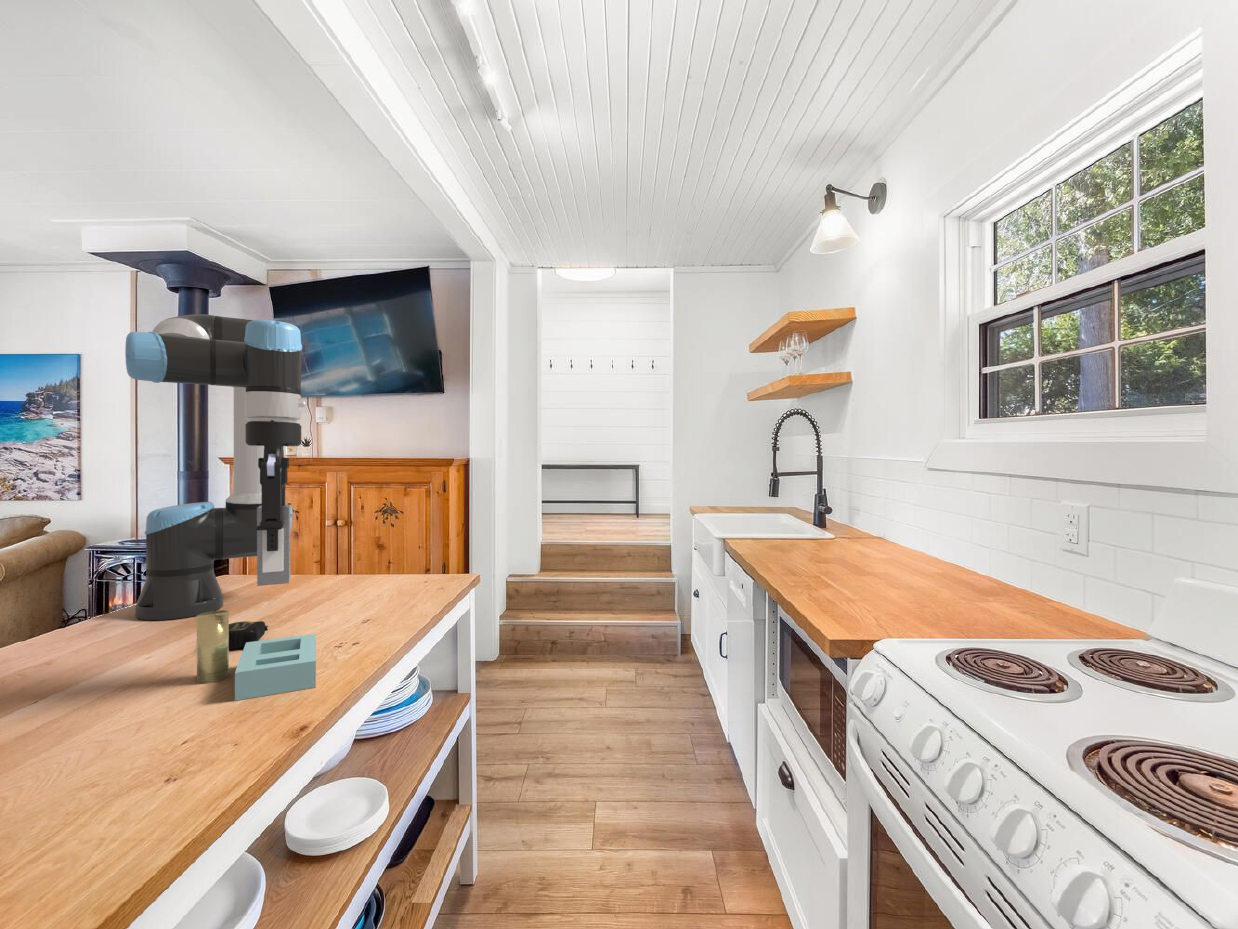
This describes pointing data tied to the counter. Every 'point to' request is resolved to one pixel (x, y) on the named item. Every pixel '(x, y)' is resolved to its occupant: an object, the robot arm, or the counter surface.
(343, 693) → the counter surface
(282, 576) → the square bit
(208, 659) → the round bit
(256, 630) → the tape measure
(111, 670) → the counter surface
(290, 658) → the socket block
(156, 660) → the counter surface
